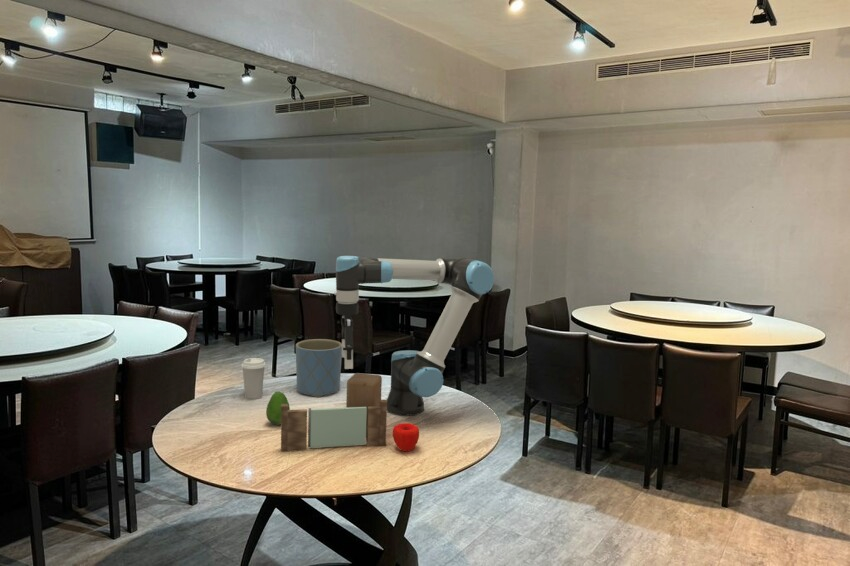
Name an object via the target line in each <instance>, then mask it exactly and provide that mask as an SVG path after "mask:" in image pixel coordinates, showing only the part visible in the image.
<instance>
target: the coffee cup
mask: <svg viewBox="0 0 850 566" xmlns="http://www.w3.org/2000/svg"><path fill="white" fill-rule="evenodd" d="M266 366H267V365H266V362H265V360H264V359H263V358H261V357H260V358H258V357H250V358H246V359H244V360H243V361H242V362H241V365H240V367H241V369H242V377H243V386H244V387H243V389H244V398H245V399H246V400H260V399H262V397H263V389H264V387H263V386H264V377H265V369H266V368H265V367H266Z"/></svg>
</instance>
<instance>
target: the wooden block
mask: <svg viewBox="0 0 850 566" xmlns="http://www.w3.org/2000/svg"><path fill="white" fill-rule="evenodd" d="M382 381H383V378H382V375H379V374H370V373H360V372H356V373H354V374H353V375H352V376H351V377H350V378H348V380H347V381H346V398H345V399H346V403H345V404H346V406H345V408H347V407H366V408H367V414H366V439H367V420H368V407H369V406H380V400H382Z"/></svg>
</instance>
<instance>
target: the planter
mask: <svg viewBox="0 0 850 566" xmlns="http://www.w3.org/2000/svg"><path fill="white" fill-rule="evenodd" d="M295 368H296V369H295V371H296V391H297V392H298V393H300V394H303V395H304V394H305V395H307V396H313V397H316V398H321V397H323V396H325V395H330V394H333V393H336V392H338V391H339V390H340V388H341V372H342V371H341V370H342V342H340V341H338V340H333V339H327V338H314V339H304V340H301V341H298V342H297V343H296V344H295Z"/></svg>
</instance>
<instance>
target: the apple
mask: <svg viewBox="0 0 850 566" xmlns="http://www.w3.org/2000/svg"><path fill="white" fill-rule="evenodd" d="M392 438H393V442H394V443H395V445H396V448H397V449H399V450H400V451H403V452H411V451H413V450H414V448H415V447H417V444H418V442H419V440H420V429H419V427H418V426H417V425H415V424H413V423H410V422H403V423H398V424H396V425H394V427H393V428H392Z"/></svg>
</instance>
